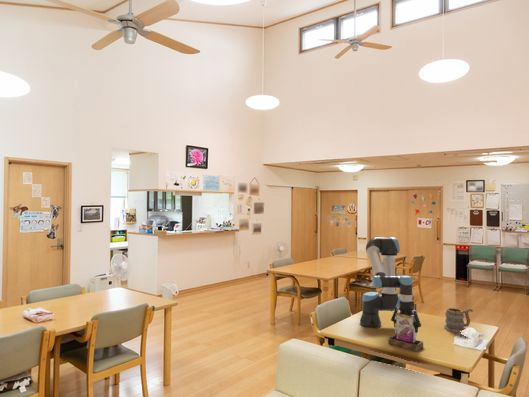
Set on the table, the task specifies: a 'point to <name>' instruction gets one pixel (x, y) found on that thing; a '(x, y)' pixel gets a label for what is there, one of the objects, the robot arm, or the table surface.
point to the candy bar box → (405, 327)
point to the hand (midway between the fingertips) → (405, 335)
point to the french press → (413, 305)
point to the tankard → (456, 319)
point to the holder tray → (405, 344)
